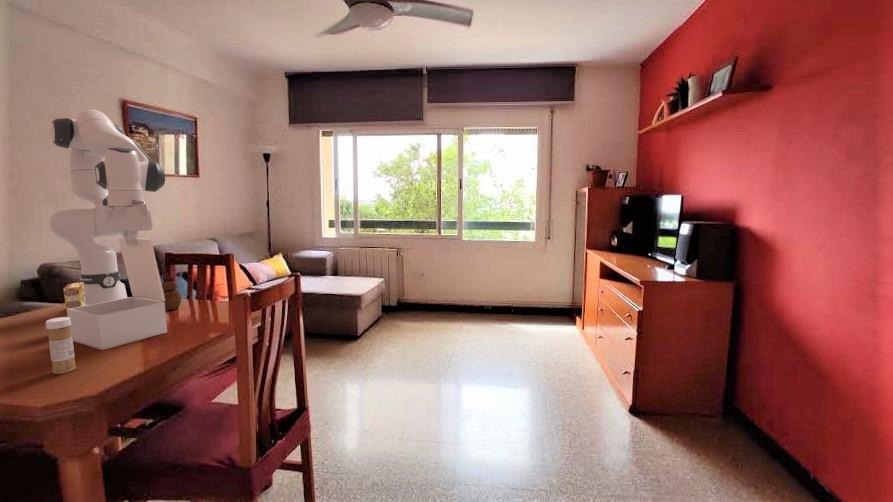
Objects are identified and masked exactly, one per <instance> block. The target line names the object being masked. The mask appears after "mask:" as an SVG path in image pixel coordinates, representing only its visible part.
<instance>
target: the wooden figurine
mask: <svg viewBox="0 0 893 502" xmlns="http://www.w3.org/2000/svg"><path fill="white" fill-rule="evenodd" d="M161 273H162V281H163V282H161V284H162V288H163V293H164V297H165V301H161V302H164V303H165V311H166V310H168V311H174V310H176V309H179V308H180V306H181V303H182V295H181V292H180V290H178V284H177V281H176V280H175V277H174V276H172V274H169V272H168V271H167V272H166V273H165V272H164V271H163V270H162V271H161Z"/></svg>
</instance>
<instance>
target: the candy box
mask: <svg viewBox="0 0 893 502" xmlns="http://www.w3.org/2000/svg"><path fill="white" fill-rule="evenodd" d="M62 289H63V295H64V303H65V309H66V317H69V315H68V309H71V308H76V307H81V306H86V299H85V292H84V283H83V282H82V283H80V282H75V283H74V282H73V283H68V284H66V286H65V287H63V288H62Z"/></svg>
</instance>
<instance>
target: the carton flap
mask: <svg viewBox="0 0 893 502" xmlns="http://www.w3.org/2000/svg"><path fill="white" fill-rule="evenodd" d="M117 238H118V239H117V240H118V242H119V247H120V250H121V255H122V260H123V263H124V267H125V270H126V271H125V272H126V274H127V280H128V284H129V287H130V292H131V295H132V296H131V297H139V298H144V299H150V300H155V301H165V297H164V293H163V291H164V290H163V288H162V279H161V277H160V276H161V275H160V272H159V268H158V263H157V259H156V255H155V248H154V245H153V241H152V239H151V238H139V237H137V239H136V242H137V244H136V245H126V244H125V239H124V237H122V236H117Z"/></svg>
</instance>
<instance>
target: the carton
mask: <svg viewBox="0 0 893 502" xmlns="http://www.w3.org/2000/svg"><path fill="white" fill-rule="evenodd" d="M166 313H167V312H166V309H165V303H164V302H161V301H159V300H153V299H148V298H142V297H137V296H130V297H127V298H123V299H118V300H113V301H108V302H102V303H97V304H92V305H87V306H81V307H76V308H71V309H68V315H69V318H70V321H71V327H70V328H71V335H72V340H73V343H74V342H75V343H77V344H81V345H83V346H88V347H90V348H94V349H96V350H101V351H103V350H107V349H112V348H115V347H119V346H123V345H127V344H129V343H133V342H137V341H141V340H144V339H148V338H151V337H155V336H158V335H163V334H167V333H168V326H167V315H166Z"/></svg>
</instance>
